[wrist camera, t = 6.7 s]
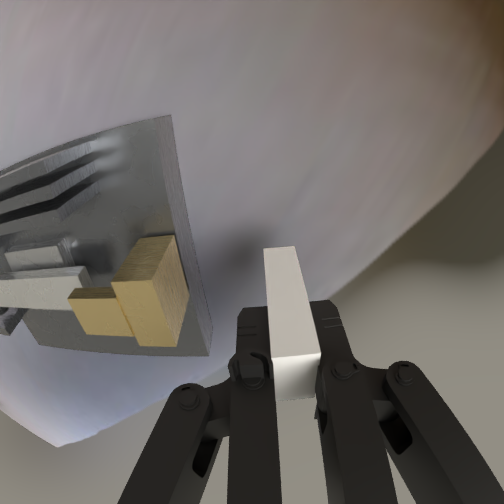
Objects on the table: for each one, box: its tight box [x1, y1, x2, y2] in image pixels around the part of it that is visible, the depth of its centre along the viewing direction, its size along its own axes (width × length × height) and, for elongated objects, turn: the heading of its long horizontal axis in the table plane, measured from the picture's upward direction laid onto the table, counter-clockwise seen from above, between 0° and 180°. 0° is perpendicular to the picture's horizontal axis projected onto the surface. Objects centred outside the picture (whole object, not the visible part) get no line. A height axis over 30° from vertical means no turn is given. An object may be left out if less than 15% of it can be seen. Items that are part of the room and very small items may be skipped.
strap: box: [0, 266, 94, 316], centre depth 14 cm, size 12×4×1 cm, turn 95°
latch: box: [67, 235, 189, 347], centre depth 14 cm, size 5×4×4 cm
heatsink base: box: [0, 115, 213, 356], centre depth 15 cm, size 18×16×7 cm
